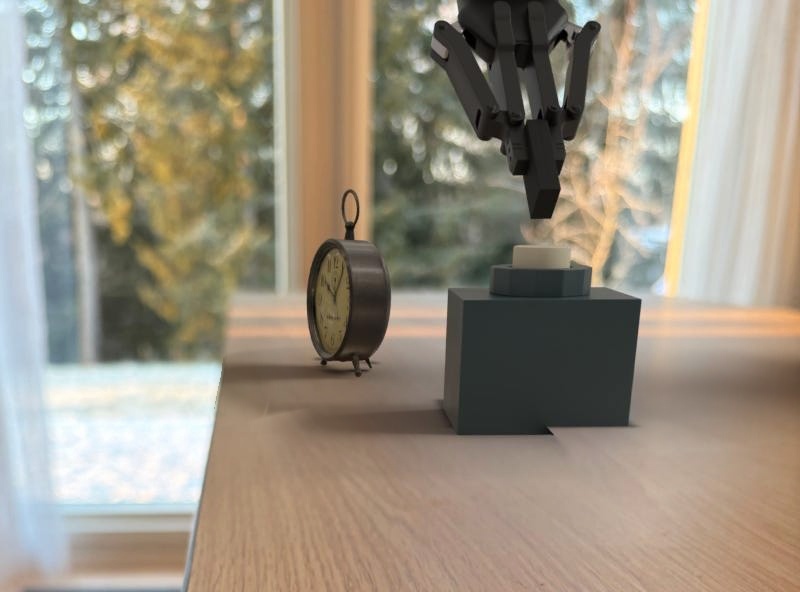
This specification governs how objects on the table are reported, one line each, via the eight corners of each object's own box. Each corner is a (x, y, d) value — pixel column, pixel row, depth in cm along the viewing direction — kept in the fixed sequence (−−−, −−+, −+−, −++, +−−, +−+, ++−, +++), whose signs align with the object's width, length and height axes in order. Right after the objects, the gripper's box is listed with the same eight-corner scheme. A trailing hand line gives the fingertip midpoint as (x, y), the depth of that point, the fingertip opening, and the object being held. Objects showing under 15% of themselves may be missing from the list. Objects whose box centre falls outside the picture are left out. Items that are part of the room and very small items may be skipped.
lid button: (562, 270, 77) (564, 244, 76) (574, 274, 73) (577, 247, 72) (507, 270, 77) (509, 244, 76) (517, 274, 73) (518, 247, 72)
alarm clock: (303, 365, 106) (301, 189, 100) (353, 362, 108) (354, 189, 101) (346, 381, 97) (347, 188, 90) (399, 377, 98) (404, 188, 92)
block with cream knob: (594, 408, 84) (608, 261, 79) (627, 435, 74) (645, 270, 70) (443, 409, 84) (448, 262, 79) (457, 436, 74) (464, 271, 70)
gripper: (570, 16, 86) (620, 242, 77) (412, 16, 85) (444, 244, 76) (597, -76, 79) (655, 160, 70) (426, -77, 78) (462, 162, 69)
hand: (545, 204), depth 73 cm, fingers closed
